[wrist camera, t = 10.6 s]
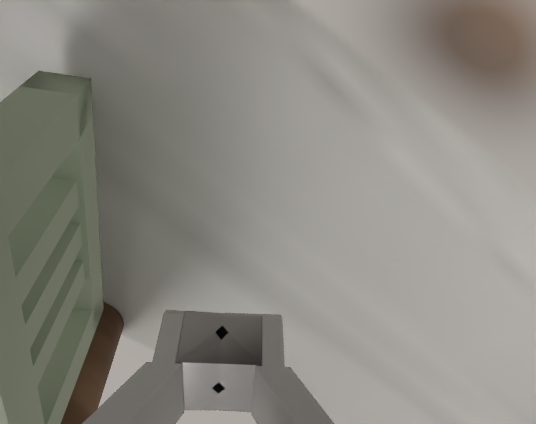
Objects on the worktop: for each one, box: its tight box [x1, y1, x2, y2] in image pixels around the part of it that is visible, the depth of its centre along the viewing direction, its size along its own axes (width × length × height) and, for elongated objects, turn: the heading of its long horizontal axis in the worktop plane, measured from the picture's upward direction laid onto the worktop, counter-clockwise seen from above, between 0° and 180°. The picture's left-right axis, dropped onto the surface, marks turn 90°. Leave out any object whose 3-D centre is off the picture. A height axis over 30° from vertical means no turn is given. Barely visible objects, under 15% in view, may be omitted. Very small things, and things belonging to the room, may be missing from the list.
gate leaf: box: [0, 71, 104, 424], centre depth 14 cm, size 2×10×8 cm, turn 171°
